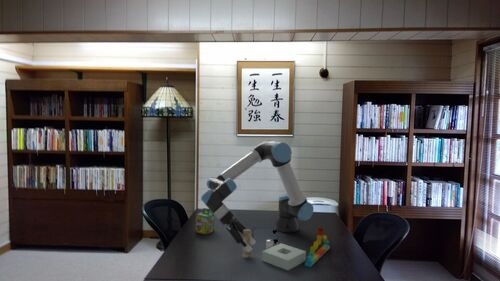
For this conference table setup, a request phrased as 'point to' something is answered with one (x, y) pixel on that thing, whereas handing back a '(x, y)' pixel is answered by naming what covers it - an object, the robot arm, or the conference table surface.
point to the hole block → (284, 256)
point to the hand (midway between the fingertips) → (252, 247)
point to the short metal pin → (269, 243)
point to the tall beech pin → (248, 239)
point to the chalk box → (205, 222)
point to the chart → (315, 256)
